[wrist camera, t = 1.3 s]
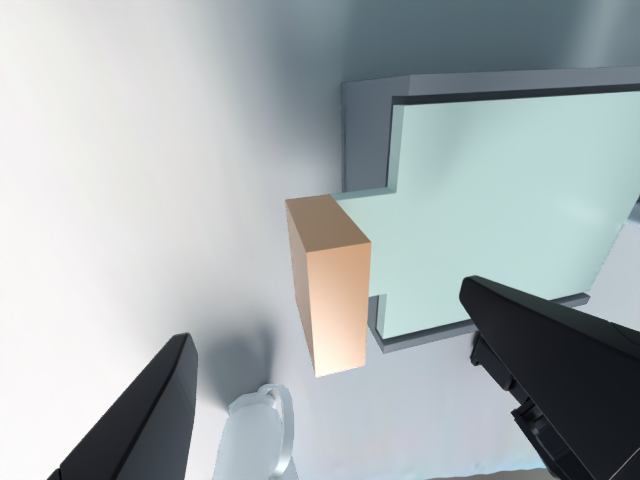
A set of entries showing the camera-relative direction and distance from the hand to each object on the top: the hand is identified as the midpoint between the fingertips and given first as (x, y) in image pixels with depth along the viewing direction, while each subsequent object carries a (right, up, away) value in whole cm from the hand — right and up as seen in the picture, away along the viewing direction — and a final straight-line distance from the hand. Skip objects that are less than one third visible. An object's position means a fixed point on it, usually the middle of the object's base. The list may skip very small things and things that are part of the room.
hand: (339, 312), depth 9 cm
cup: (-6, -12, +16) cm, 21 cm away
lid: (+7, +3, +5) cm, 9 cm away
